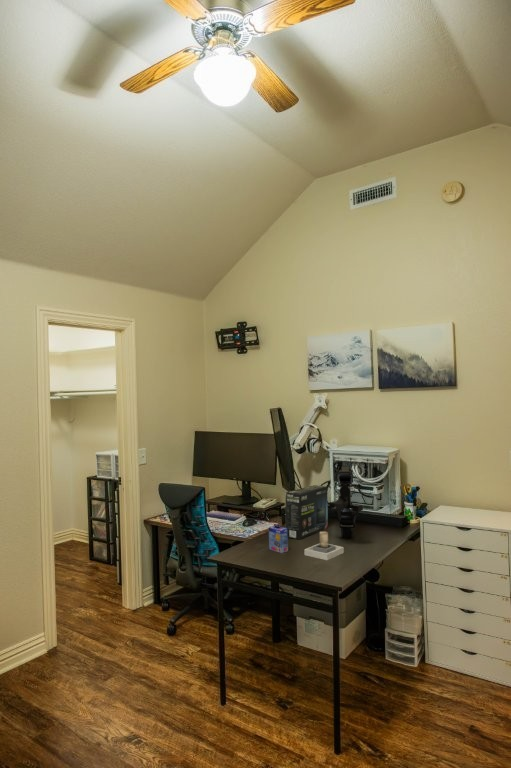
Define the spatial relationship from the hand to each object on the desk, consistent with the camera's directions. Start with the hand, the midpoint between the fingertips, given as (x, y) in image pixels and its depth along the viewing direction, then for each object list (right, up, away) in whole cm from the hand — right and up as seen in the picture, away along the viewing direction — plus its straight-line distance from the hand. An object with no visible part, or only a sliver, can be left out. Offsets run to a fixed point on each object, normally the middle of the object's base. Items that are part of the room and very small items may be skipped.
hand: (346, 521), depth 268 cm
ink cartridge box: (-38, -13, -8) cm, 41 cm away
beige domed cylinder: (-15, -11, -16) cm, 24 cm away
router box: (-18, -15, +29) cm, 37 cm away
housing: (-14, -12, -16) cm, 25 cm away
